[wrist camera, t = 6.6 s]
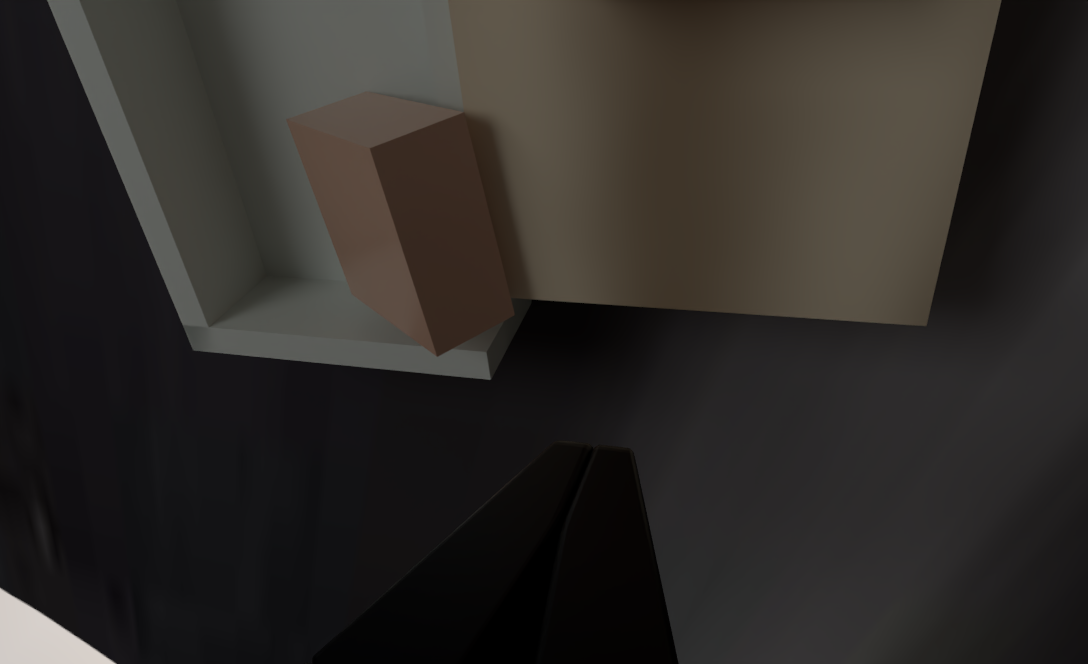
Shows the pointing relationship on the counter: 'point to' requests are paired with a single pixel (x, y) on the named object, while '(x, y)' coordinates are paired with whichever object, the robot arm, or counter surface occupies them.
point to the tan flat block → (724, 148)
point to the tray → (260, 160)
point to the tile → (406, 214)
